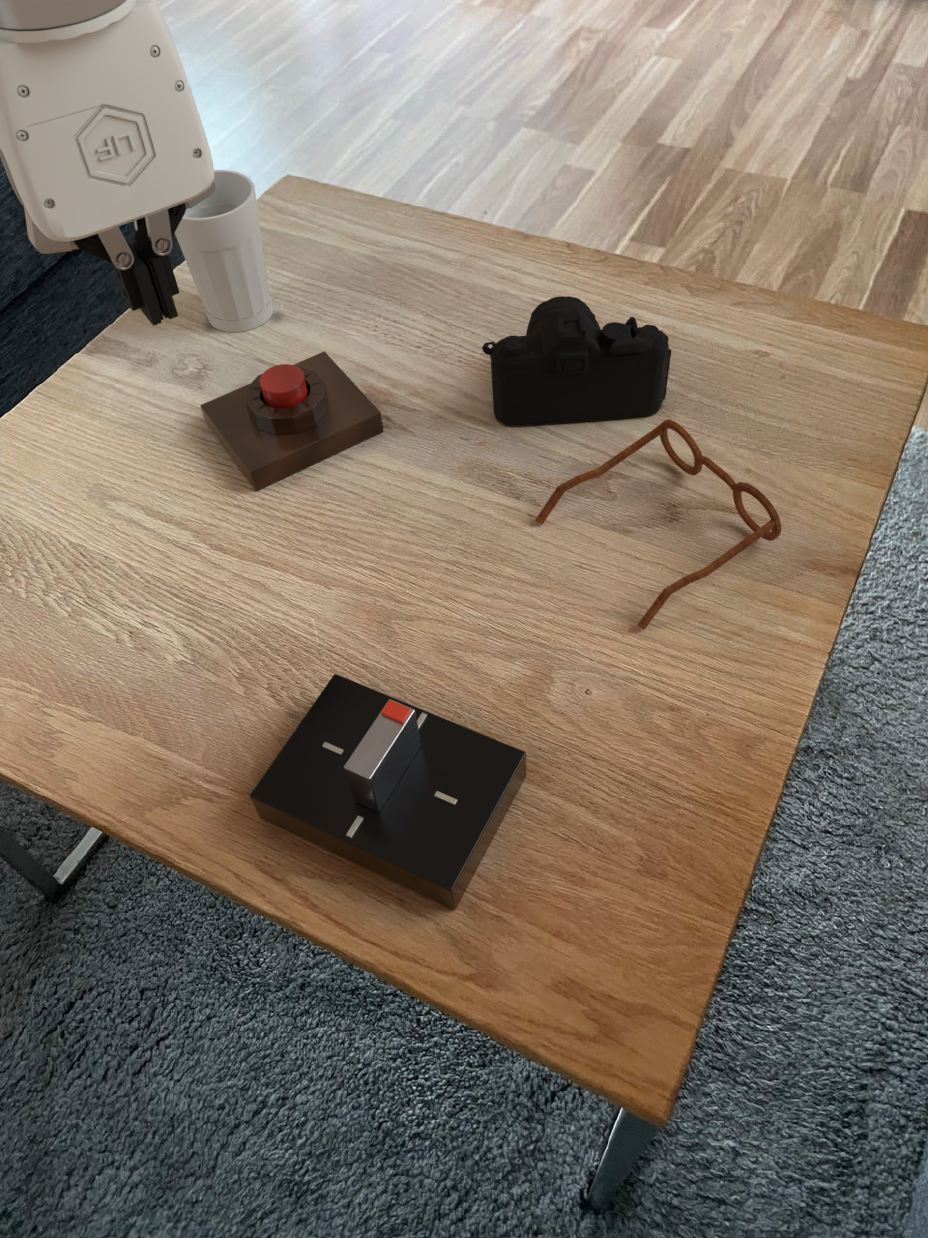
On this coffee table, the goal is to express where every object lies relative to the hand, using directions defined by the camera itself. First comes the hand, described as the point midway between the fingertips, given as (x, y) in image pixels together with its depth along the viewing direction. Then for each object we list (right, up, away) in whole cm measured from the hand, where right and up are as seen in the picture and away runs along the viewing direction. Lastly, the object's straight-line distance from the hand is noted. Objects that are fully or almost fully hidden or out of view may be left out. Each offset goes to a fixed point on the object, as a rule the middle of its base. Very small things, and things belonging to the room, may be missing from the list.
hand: (156, 309), depth 62 cm
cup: (-3, +10, +35) cm, 37 cm away
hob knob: (+14, -28, 0) cm, 32 cm away
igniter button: (+4, 0, +22) cm, 22 cm away
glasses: (+33, -13, +15) cm, 38 cm away
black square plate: (+14, -30, +3) cm, 34 cm away
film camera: (+28, +1, +26) cm, 38 cm away
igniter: (+4, -3, +25) cm, 25 cm away
